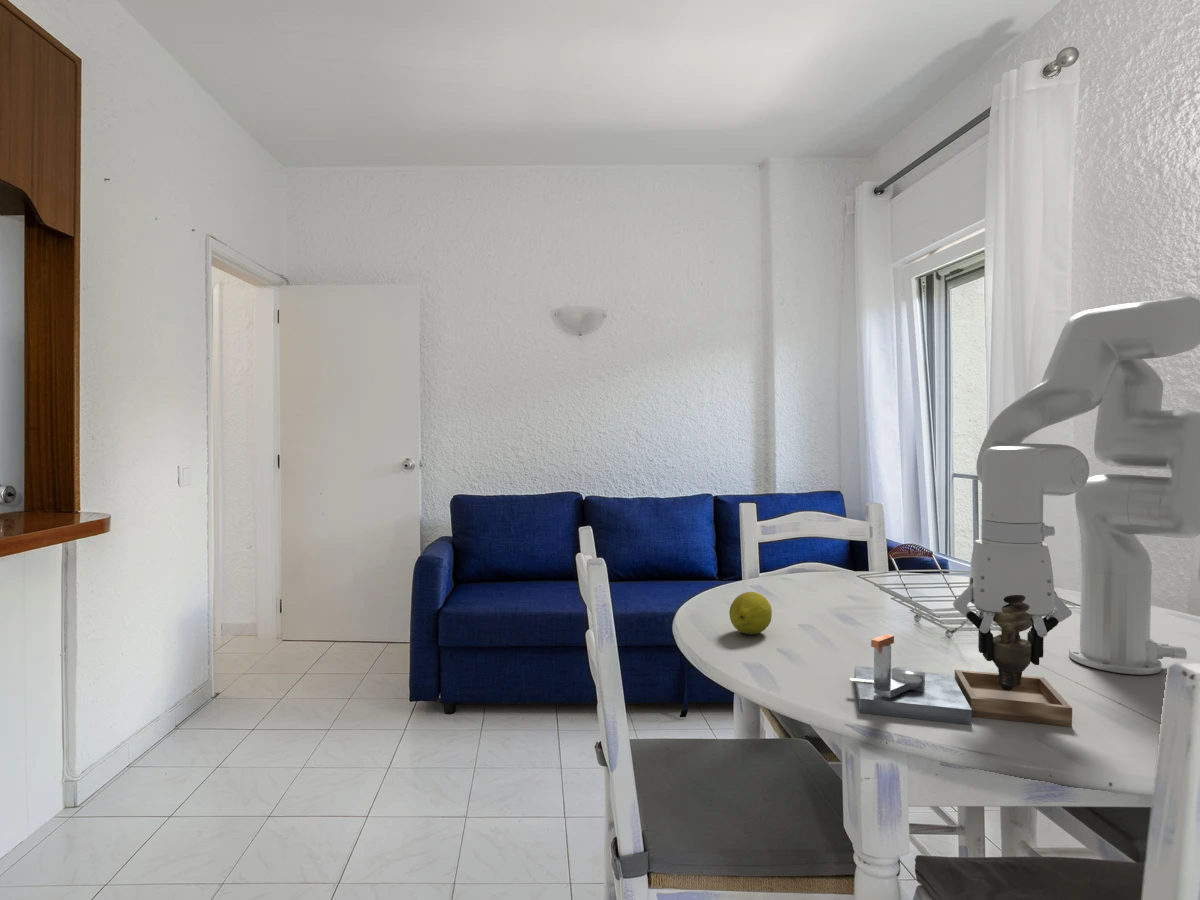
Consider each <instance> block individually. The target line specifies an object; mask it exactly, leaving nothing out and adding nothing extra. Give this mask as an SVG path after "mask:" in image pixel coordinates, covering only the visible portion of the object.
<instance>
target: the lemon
mask: <svg viewBox="0 0 1200 900" xmlns="http://www.w3.org/2000/svg"><path fill="white" fill-rule="evenodd" d="M772 612H773V611H772V605H771V603H770V601H769V600H768V599H767V598H766V597H765V596H764V595H762V594H760V593H758V592H756V591H755V592H754V591H746V592H743V593H741V594H739V595H738V596H736V597H735V598H734V599H733V601H732V603H731V604H730V607H729V612H728V613H729V620H730V622H731V624H732V626H733V627H734V628H735V629H736V630H737V631H739V632H740V633H742V634H745V635H757V634H760V633H762V632H763V631H765V630H766V629H767V628H768V627H769V626H770V623H771V621H772V618H773V617H772V615H773V614H772Z"/></svg>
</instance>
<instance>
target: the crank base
mask: <svg viewBox="0 0 1200 900" xmlns="http://www.w3.org/2000/svg"><path fill="white" fill-rule="evenodd" d="M892 669H893V668H891V679H892ZM923 672H924V673H925V687H924V688H923V689H917V690H912V689H909V690H907V691H905V692H902V693H900V694H898V695H896V696H893V697H891V698H889V697H886V696H883V695H880V694H876V693H874V667H870V666H858V665H854V672H853V673H854V678H852V677H849V683H850V682H851V683H854V684H855V690H856V691H855V692H856V698H857V702H858V709H859V713H860V714H868V715H878V716H888V717H897V718H906V719H913V720H916V719H917V720H924V721H925V720H926V721H933V722H944V723H953V724H960V725H961V724H962V725H971V726H972V724H973V722H972V720H973V719H972V718H973V716H972V709H971V707H970V706H969V704H968V702H967V700H966V698H965V697H964V695H963V693H962V691H961V690H960V688H959V686H958V684H957V682H956V681H955V676H954V675H953V674H949V673H939V672H938V673H936V672H926V671H923Z"/></svg>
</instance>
